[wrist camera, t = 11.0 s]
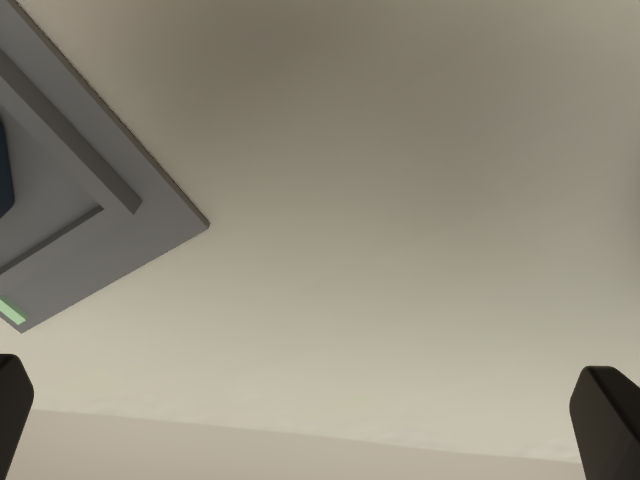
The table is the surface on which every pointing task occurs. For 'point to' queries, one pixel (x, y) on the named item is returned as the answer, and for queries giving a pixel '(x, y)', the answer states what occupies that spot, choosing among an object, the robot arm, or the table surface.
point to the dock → (73, 184)
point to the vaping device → (5, 177)
